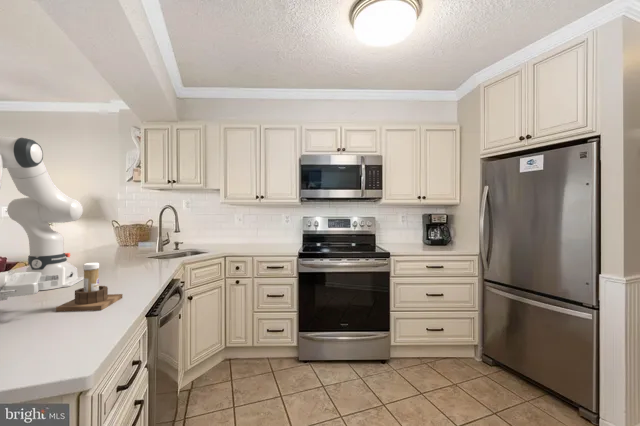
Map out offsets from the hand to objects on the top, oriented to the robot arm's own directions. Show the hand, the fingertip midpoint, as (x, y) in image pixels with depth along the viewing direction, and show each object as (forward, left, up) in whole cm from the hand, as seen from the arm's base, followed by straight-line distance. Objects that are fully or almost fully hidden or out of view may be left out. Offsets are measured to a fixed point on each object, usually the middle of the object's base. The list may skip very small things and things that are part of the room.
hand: (58, 279), depth 103 cm
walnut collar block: (-5, +8, -10) cm, 14 cm away
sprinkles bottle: (-5, +8, -9) cm, 13 cm away
